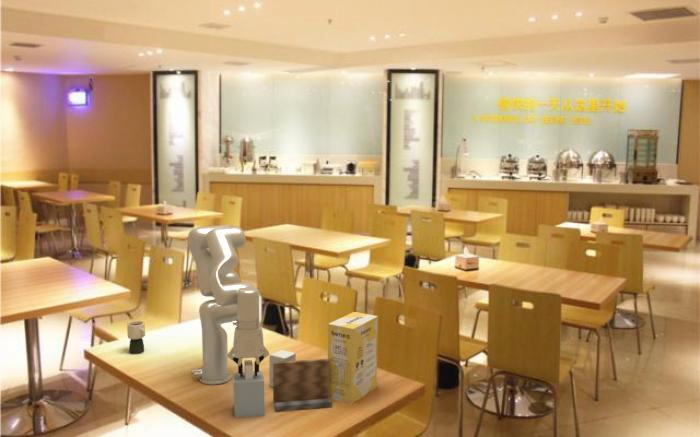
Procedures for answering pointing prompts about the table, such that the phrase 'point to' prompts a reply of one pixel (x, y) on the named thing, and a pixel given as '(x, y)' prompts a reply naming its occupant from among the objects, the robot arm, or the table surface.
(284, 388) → the walnut wall board
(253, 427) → the table surface
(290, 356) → the supplement box
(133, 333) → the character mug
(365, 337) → the pasta box
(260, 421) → the table surface
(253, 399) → the slate cabinet
